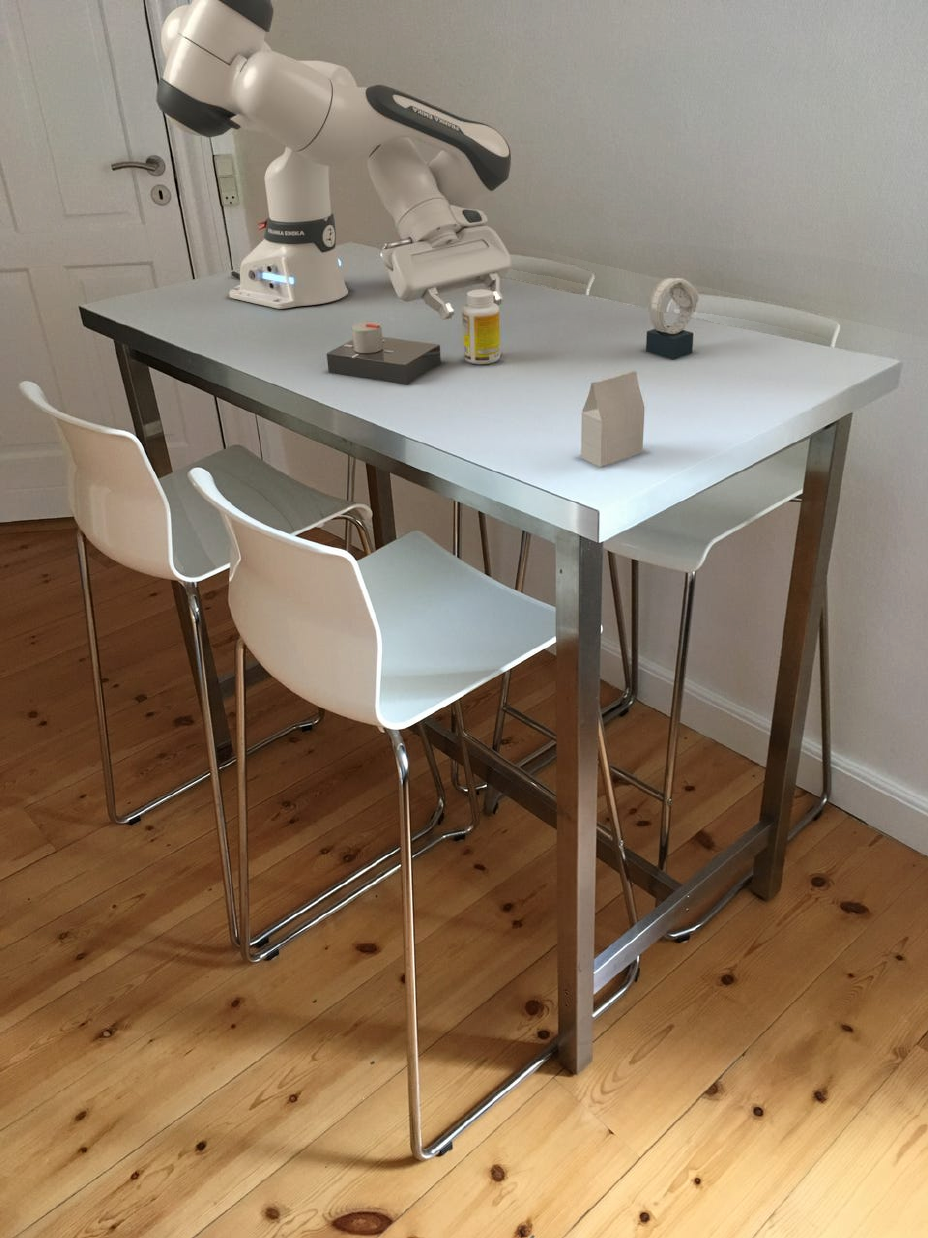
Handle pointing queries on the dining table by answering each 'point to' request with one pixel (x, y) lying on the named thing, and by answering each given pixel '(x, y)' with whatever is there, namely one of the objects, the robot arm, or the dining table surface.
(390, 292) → the dining table surface
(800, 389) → the dining table surface
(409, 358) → the hob
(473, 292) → the supplement bottle
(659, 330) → the watch
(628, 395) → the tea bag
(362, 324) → the knob
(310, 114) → the robot arm
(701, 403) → the dining table surface
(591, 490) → the dining table surface
